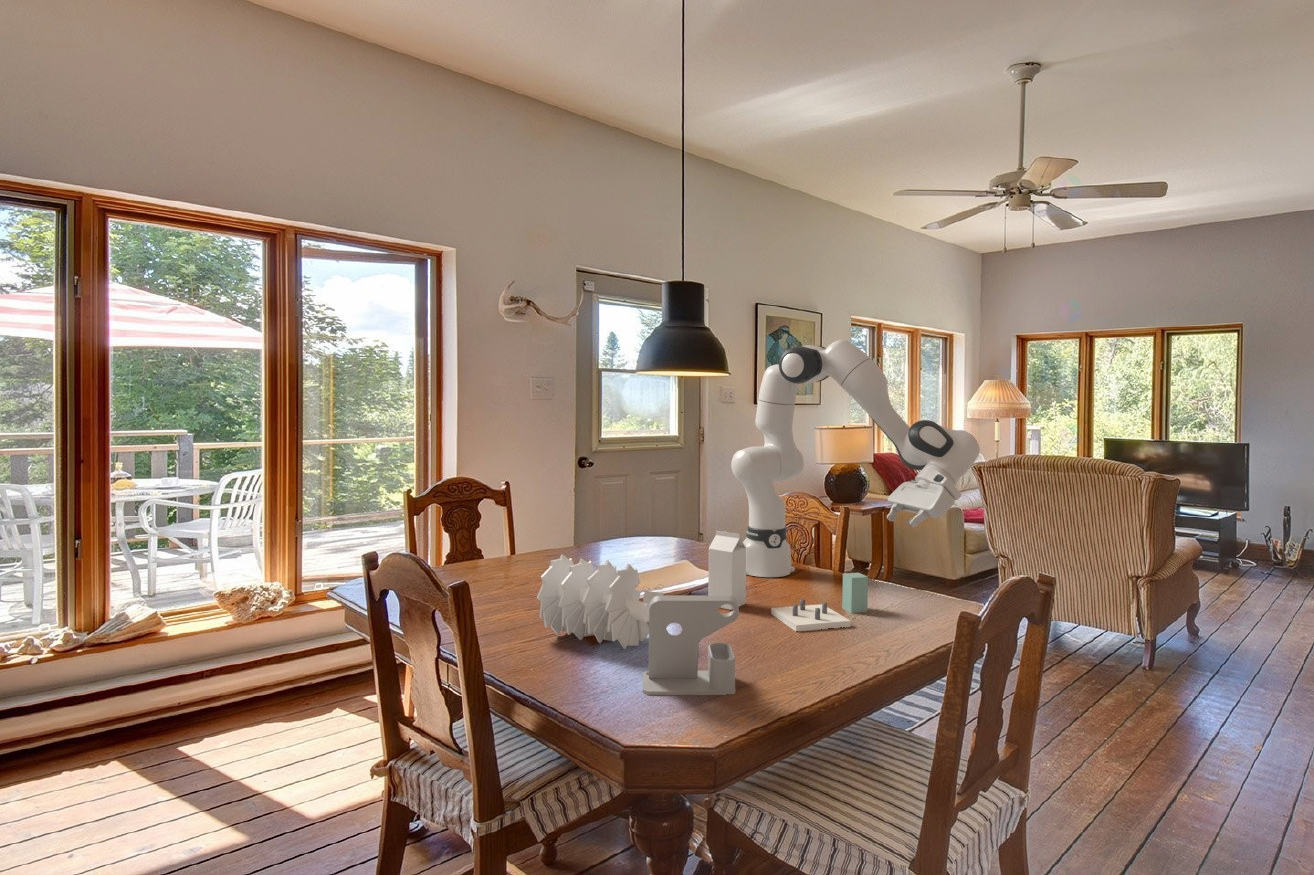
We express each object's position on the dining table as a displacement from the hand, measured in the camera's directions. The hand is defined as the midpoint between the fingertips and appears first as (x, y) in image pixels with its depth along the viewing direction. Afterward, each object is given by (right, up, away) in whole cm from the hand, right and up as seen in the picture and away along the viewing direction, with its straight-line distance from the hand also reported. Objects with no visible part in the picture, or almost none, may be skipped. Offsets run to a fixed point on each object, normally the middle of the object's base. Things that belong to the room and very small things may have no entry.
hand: (899, 522), depth 188 cm
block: (-12, -22, -3) cm, 25 cm away
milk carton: (-44, -22, +1) cm, 50 cm away
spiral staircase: (-76, -23, -26) cm, 83 cm away
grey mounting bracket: (-57, -25, -51) cm, 80 cm away
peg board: (-26, -22, -12) cm, 36 cm away
